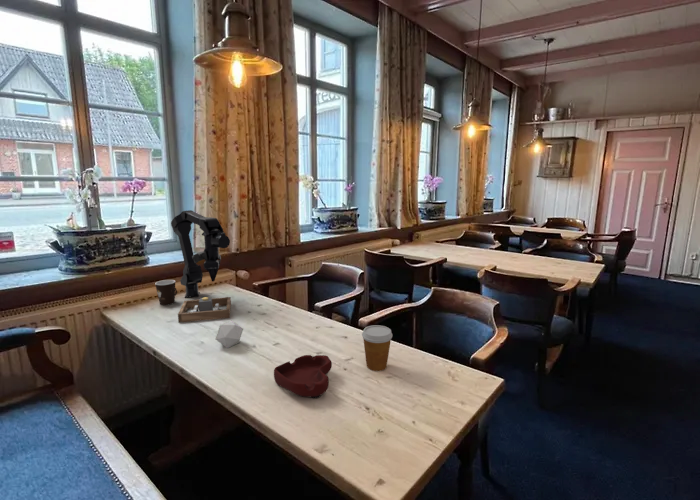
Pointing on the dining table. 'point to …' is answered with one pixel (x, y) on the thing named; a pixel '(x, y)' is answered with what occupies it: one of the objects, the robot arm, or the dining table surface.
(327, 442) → the dining table surface
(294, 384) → the ashtray
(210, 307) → the grey block
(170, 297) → the coffee mug
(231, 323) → the die
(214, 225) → the robot arm
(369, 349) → the disposable coffee cup
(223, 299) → the wooden serving tray
